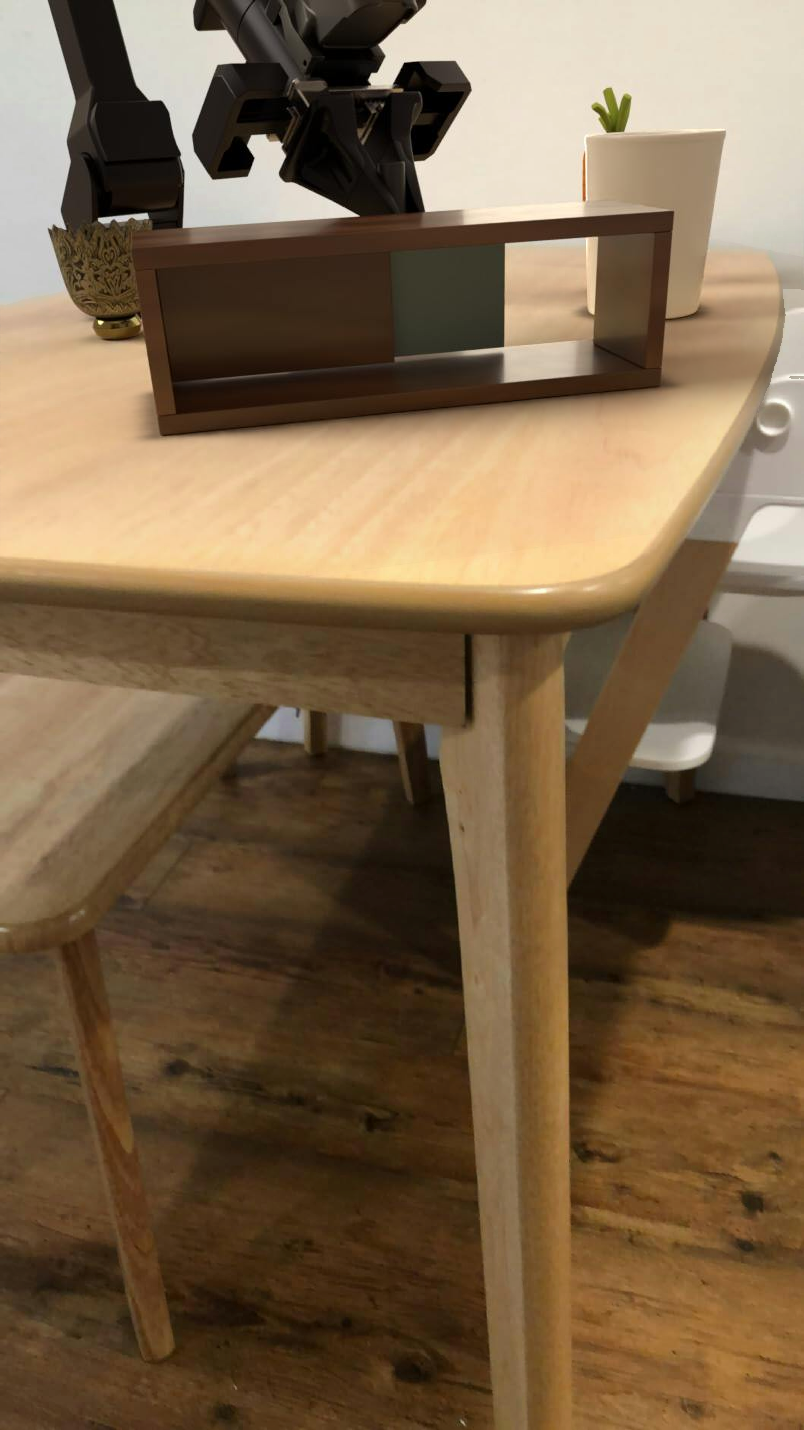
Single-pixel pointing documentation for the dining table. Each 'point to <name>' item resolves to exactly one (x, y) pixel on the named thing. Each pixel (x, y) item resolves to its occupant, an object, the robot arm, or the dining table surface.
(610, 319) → the display case
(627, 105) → the carrot
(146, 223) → the cup
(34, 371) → the dining table surface
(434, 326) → the dark piece
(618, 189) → the white plant pot
